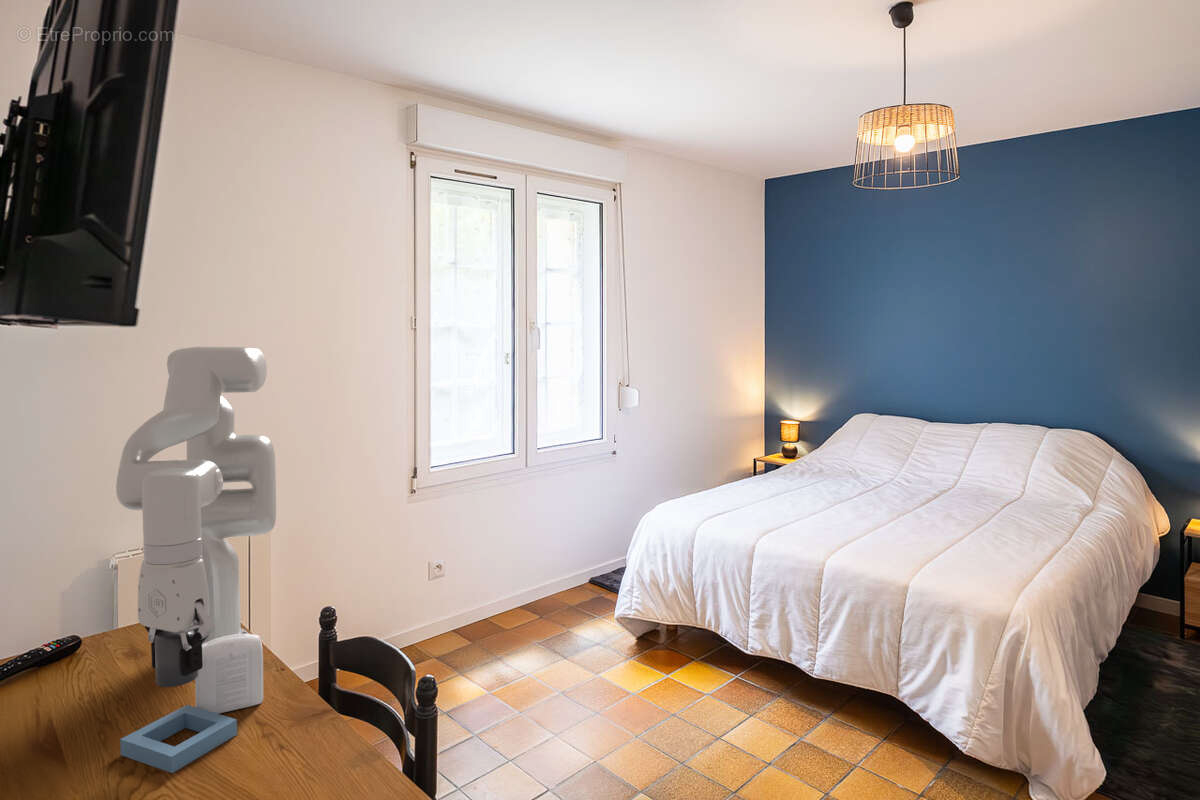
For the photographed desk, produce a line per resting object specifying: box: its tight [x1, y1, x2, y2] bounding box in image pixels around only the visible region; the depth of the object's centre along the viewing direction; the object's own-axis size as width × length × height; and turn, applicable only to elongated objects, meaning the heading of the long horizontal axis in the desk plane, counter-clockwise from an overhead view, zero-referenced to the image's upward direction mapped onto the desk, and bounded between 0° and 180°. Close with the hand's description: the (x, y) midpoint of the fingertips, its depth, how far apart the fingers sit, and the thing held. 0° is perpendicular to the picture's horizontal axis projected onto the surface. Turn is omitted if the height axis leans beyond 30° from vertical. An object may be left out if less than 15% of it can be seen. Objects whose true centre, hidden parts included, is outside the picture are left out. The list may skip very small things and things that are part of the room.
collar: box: [119, 704, 238, 774], centre depth 110 cm, size 11×11×2 cm
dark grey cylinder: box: [154, 630, 198, 688], centre depth 109 cm, size 6×6×7 cm
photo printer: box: [194, 633, 264, 714], centre depth 121 cm, size 10×4×12 cm, turn 123°
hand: (177, 667), depth 109 cm, fingers closed on dark grey cylinder, 5 cm apart
